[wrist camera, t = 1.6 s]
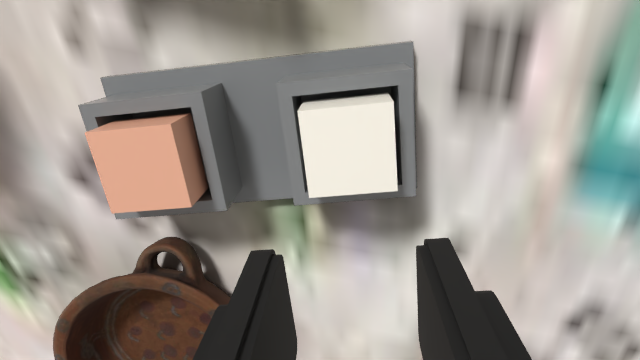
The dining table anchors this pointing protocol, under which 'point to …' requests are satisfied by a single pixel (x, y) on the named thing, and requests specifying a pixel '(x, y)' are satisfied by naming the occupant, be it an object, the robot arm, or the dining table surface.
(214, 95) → the key panel
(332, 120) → the key cream
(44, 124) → the dining table surface
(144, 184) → the key terracotta
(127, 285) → the dish
